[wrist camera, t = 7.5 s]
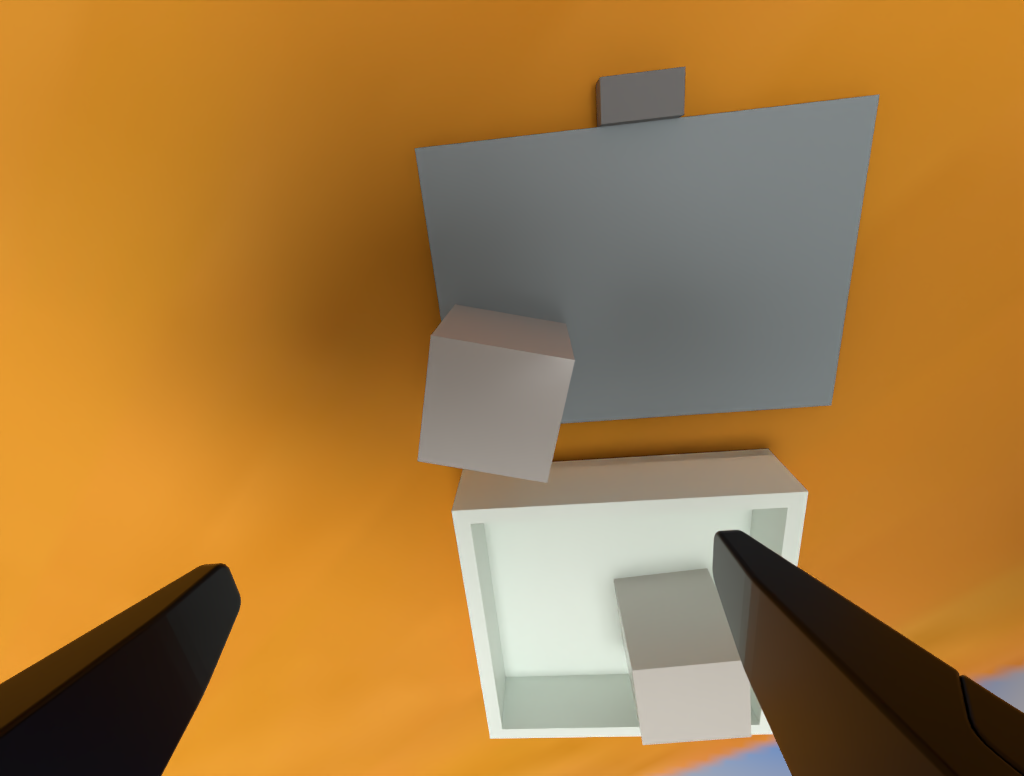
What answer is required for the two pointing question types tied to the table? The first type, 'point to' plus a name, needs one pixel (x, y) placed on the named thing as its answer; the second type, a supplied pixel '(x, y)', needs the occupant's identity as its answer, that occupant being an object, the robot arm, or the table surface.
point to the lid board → (664, 245)
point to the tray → (597, 572)
